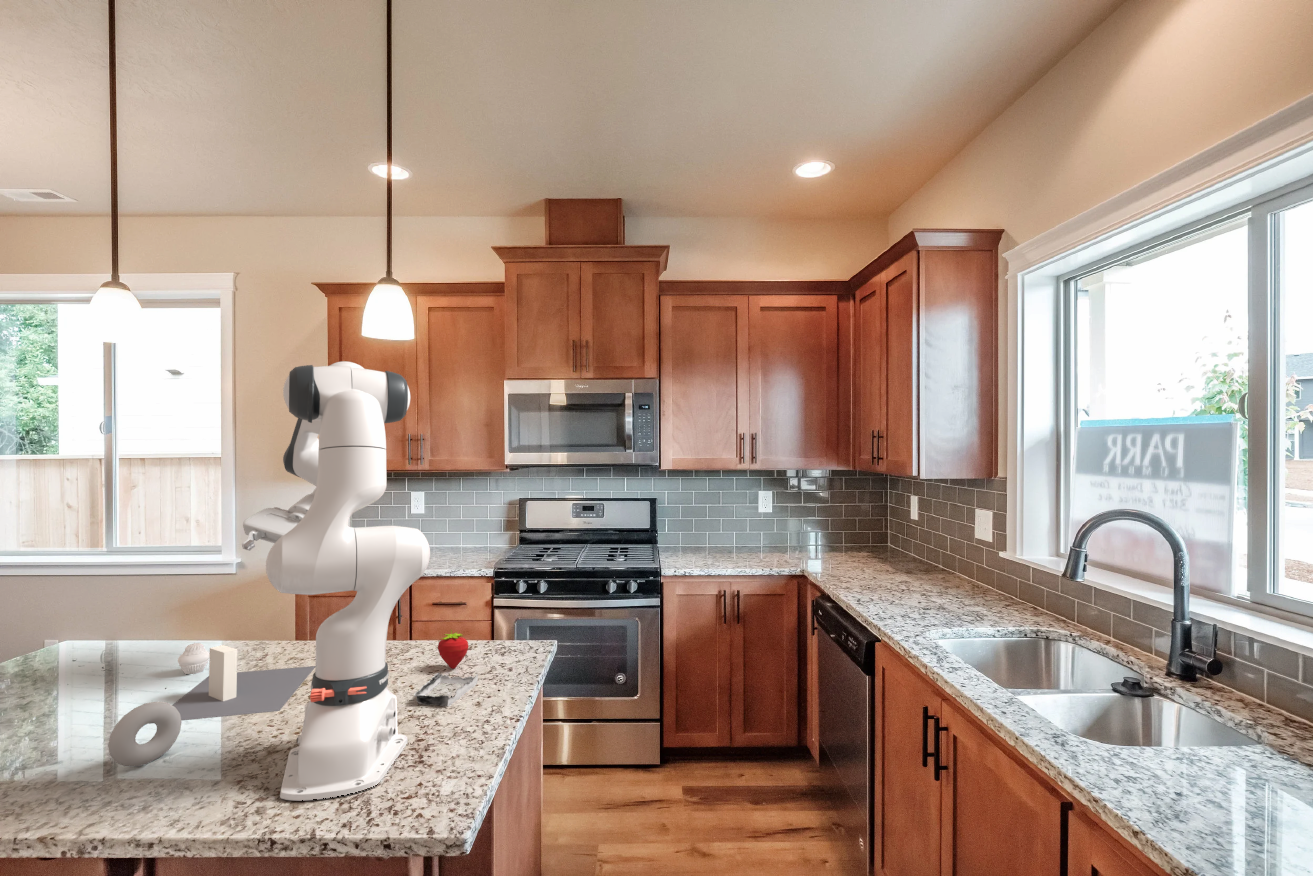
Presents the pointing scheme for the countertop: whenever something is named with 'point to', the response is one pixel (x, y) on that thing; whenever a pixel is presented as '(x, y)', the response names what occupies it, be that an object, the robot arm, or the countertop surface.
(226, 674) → the card box
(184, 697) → the mat
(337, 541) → the robot arm
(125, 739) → the donut
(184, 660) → the muffin
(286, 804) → the countertop surface
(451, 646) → the strawberry
